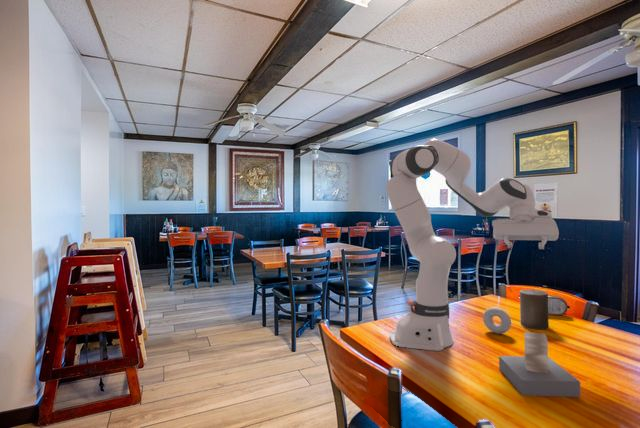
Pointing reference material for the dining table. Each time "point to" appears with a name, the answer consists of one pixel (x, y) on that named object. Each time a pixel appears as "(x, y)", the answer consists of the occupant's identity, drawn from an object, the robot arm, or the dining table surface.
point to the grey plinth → (539, 378)
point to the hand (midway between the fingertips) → (525, 247)
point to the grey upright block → (536, 352)
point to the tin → (556, 305)
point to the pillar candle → (534, 309)
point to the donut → (501, 314)
